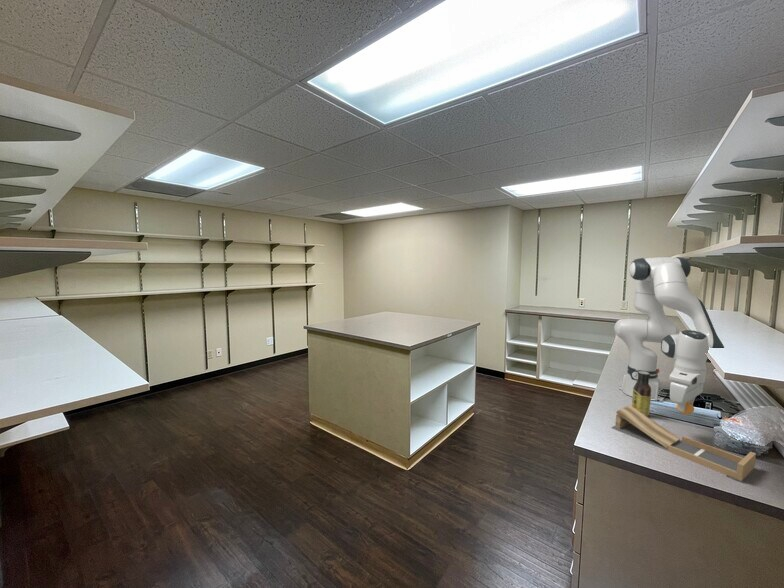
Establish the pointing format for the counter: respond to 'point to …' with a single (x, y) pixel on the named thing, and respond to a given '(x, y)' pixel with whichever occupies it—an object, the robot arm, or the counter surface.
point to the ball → (687, 408)
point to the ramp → (644, 425)
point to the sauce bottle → (642, 393)
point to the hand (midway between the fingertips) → (685, 408)
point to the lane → (702, 454)
